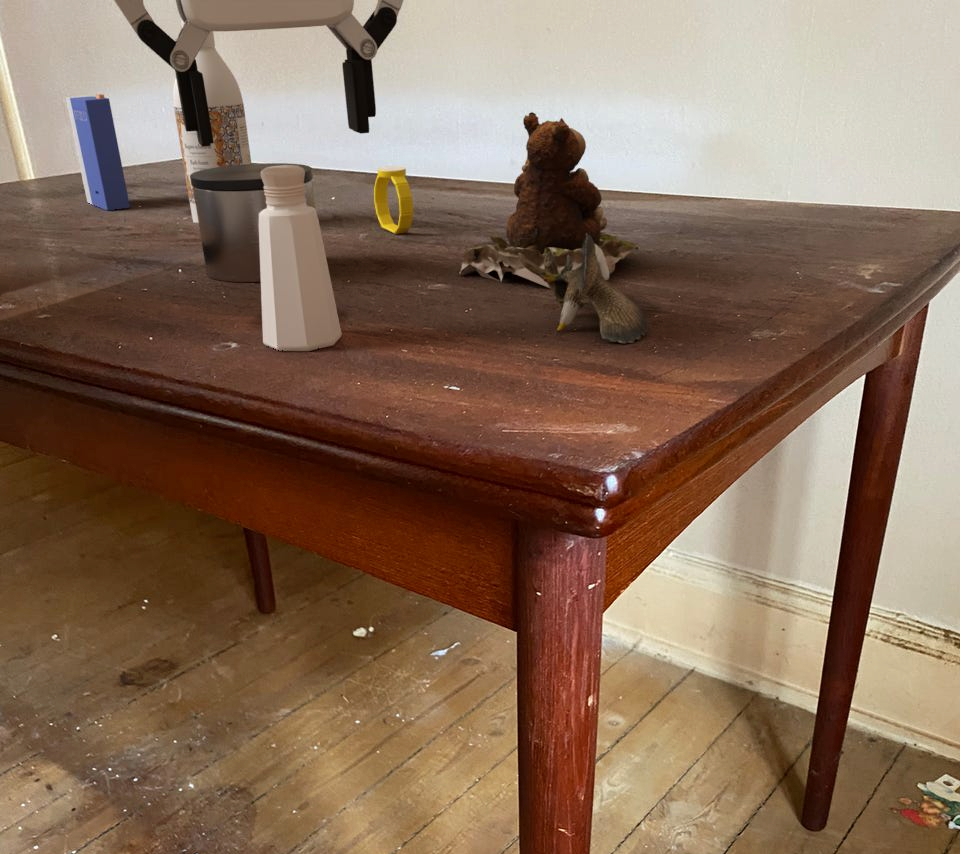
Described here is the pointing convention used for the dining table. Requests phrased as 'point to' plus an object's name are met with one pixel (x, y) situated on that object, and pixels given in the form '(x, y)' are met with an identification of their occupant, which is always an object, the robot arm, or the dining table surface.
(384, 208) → the watch
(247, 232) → the canister
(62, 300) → the dining table surface
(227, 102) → the bath foam
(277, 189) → the pepper shaker
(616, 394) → the dining table surface
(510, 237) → the bear figurine
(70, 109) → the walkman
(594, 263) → the eagle figurine
